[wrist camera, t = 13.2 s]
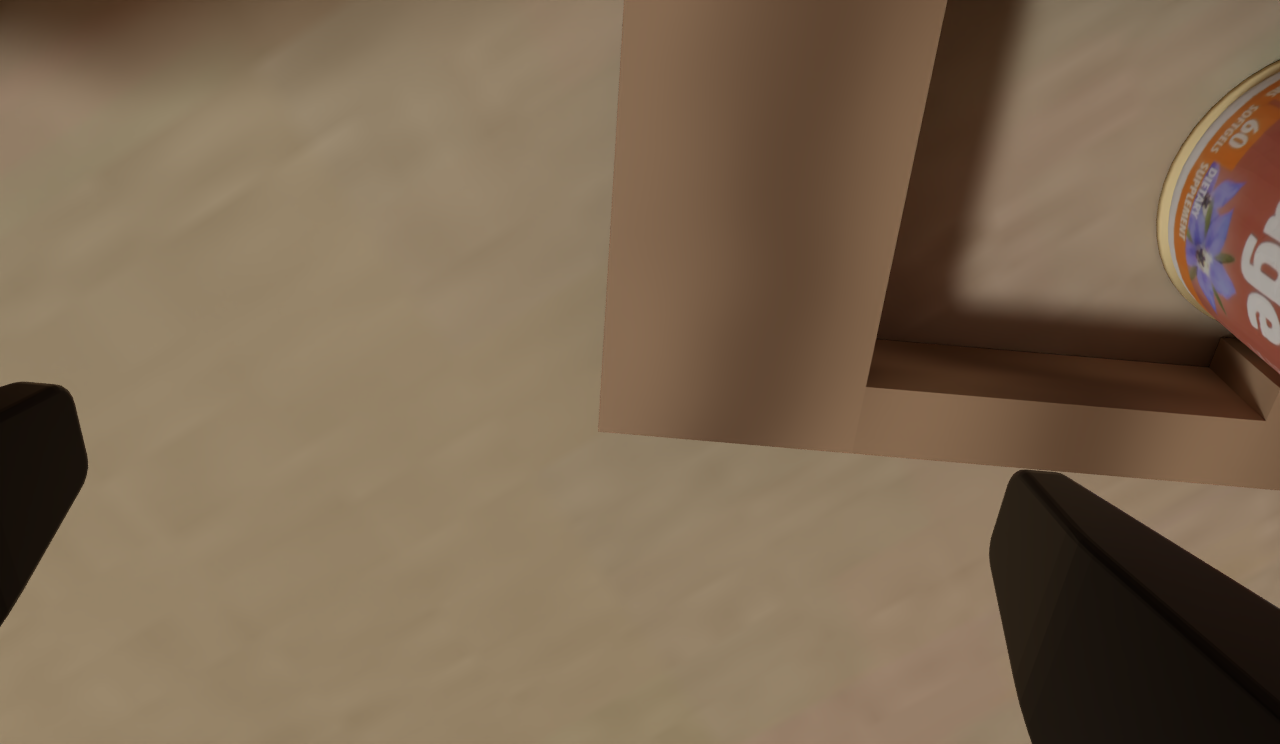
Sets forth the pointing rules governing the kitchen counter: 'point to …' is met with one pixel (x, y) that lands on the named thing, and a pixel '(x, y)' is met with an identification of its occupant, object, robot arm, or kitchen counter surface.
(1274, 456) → the wooden rectangular frame
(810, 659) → the kitchen counter surface
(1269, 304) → the pill bottle
